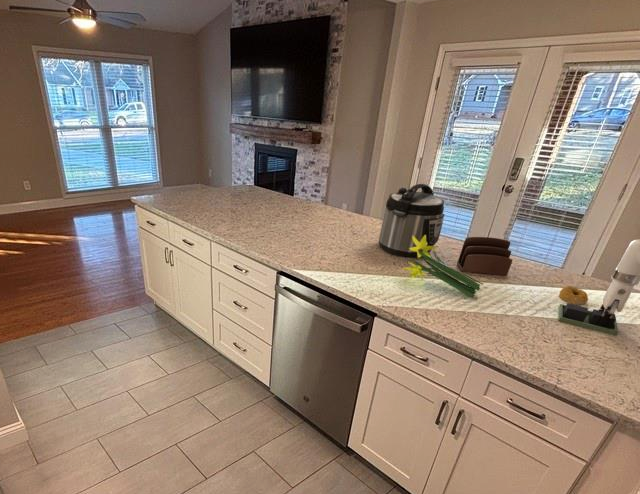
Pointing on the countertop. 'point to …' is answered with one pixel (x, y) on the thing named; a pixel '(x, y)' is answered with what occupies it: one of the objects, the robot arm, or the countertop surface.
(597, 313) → the loose pad
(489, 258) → the letter holder
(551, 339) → the countertop surface
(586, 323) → the tray
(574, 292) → the bagel
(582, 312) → the seated pad
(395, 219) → the pressure cooker
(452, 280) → the daffodil flowers
